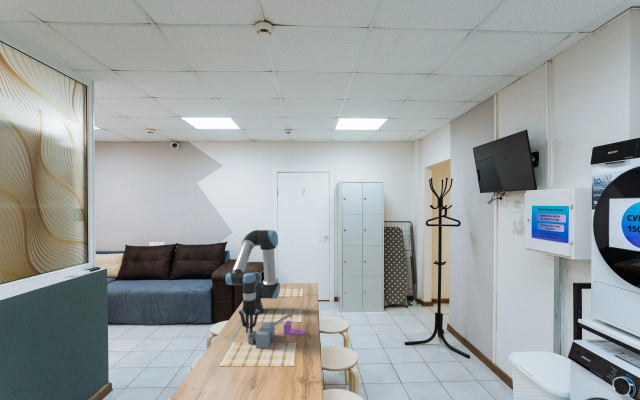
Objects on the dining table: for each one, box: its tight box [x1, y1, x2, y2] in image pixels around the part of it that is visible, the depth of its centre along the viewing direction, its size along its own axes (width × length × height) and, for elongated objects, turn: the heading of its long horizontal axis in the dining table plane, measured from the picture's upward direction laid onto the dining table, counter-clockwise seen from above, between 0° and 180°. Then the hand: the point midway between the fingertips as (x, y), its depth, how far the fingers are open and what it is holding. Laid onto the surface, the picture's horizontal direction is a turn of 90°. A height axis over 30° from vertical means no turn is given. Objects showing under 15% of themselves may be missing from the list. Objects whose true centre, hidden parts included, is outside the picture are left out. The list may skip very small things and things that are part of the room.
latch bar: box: [271, 312, 293, 328], centre depth 182 cm, size 2×15×2 cm
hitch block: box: [255, 321, 276, 349], centre depth 182 cm, size 18×7×8 cm, turn 176°
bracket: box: [283, 320, 305, 336], centre depth 193 cm, size 13×6×7 cm, turn 84°
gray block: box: [247, 330, 272, 345], centre depth 182 cm, size 8×12×4 cm
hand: (249, 337), depth 183 cm, fingers closed
